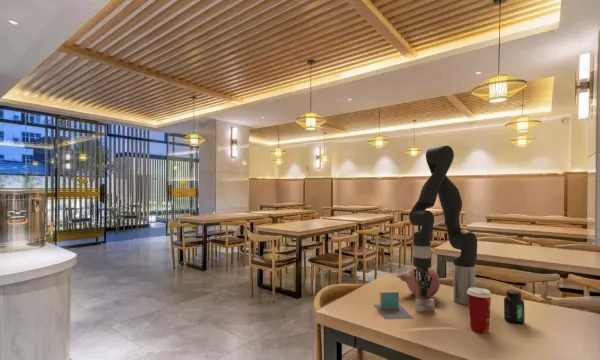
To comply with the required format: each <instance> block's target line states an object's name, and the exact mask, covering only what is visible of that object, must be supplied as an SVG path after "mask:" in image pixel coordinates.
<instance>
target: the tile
mask: <svg viewBox="0 0 600 360" xmlns="http://www.w3.org/2000/svg"><path fill="white" fill-rule="evenodd" d="M399 304H400V293H399V291H398V290H380V291H379V305H380V308H381V309H395V308H399Z"/></svg>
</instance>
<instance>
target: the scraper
mask: <svg viewBox="0 0 600 360" xmlns="http://www.w3.org/2000/svg"><path fill="white" fill-rule="evenodd" d="M422 281H424V280H422ZM423 285H424V283H423ZM415 289H416V295H415V299H414V307H415V308H414V309H415V312H435V299H434V298H431V297H430V288H427V297H422V287H421V282H420V279H415Z"/></svg>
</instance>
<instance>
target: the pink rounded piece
mask: <svg viewBox="0 0 600 360" xmlns="http://www.w3.org/2000/svg"><path fill="white" fill-rule="evenodd" d="M413 269H416V267H415V266H413V267H412V268H411V269H409V270H408V271H406V272H404V273H402V274H397V275H396V278H399V279H400V280H401V282H405V284H406V285H407V287H408V289H409V292H410V293H412V294H413V295H414V296H416V289H415V277H414V271H413ZM428 272H429V276H432V281H431V285H430V298H432V297H434V296H435V295H436V294H437V293H438V292H439V290H440V288H441V287H440V286H441V282H440V281H441V280H440V277H439V275H438V273H437V272H436V271H435V270H434V269H433V268H432V267H430V268H428Z"/></svg>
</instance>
